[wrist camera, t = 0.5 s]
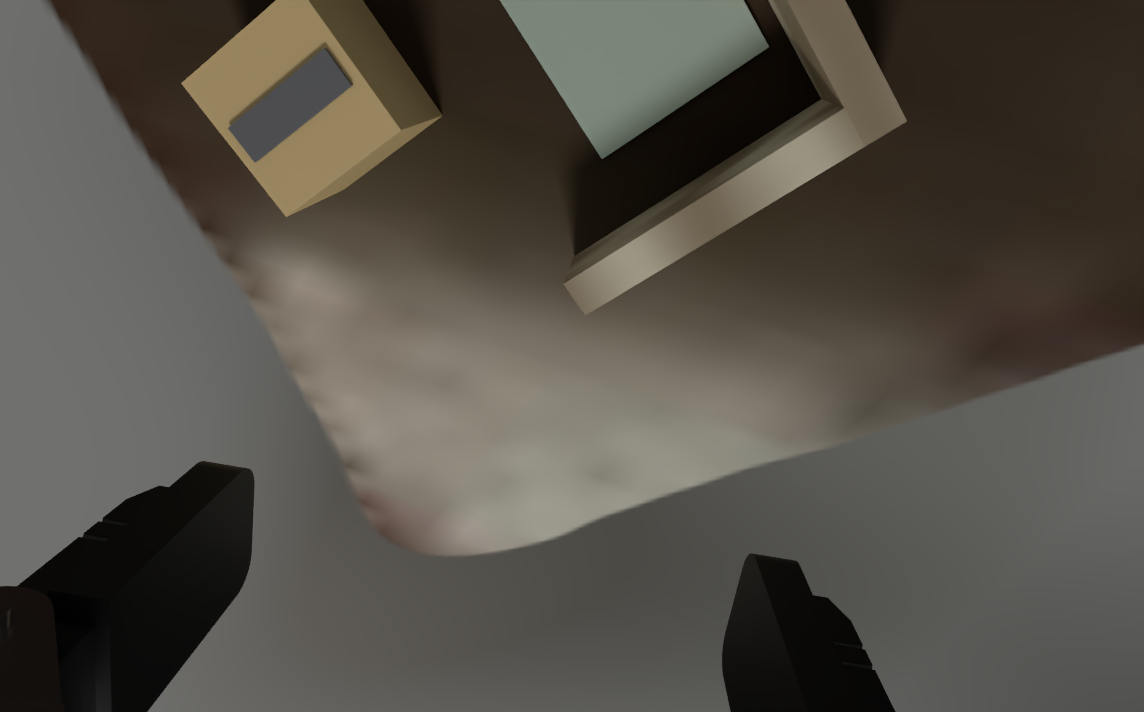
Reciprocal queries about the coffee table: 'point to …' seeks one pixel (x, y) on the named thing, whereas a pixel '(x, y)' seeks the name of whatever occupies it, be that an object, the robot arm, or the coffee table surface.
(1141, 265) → the coffee table surface
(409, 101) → the ochre cube
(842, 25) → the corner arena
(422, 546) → the coffee table surface
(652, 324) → the coffee table surface
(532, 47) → the pad
